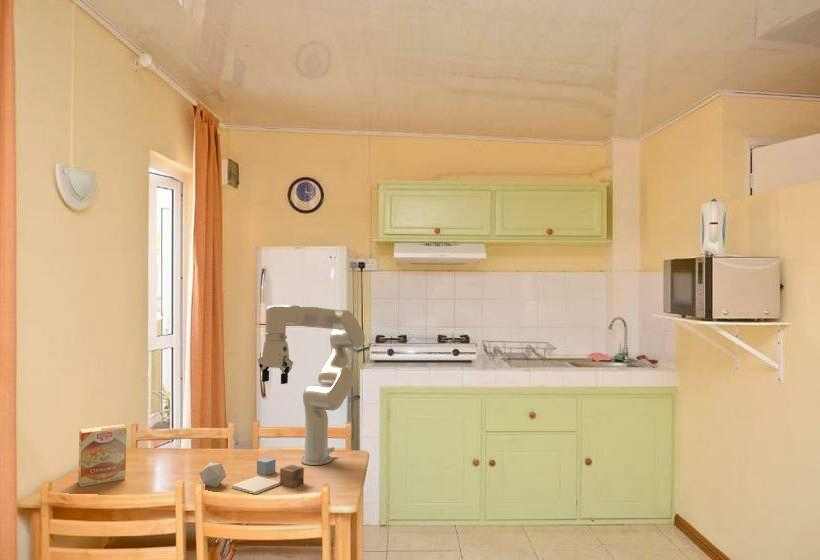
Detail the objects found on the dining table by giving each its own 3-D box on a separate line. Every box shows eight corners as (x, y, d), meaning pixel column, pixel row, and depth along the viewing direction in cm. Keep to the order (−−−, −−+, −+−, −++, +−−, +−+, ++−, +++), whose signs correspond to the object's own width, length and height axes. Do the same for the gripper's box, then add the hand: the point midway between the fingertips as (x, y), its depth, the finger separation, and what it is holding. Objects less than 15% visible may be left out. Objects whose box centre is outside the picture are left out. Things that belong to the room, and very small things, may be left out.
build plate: (257, 478, 212) (257, 476, 212) (280, 484, 205) (280, 482, 205) (231, 487, 202) (231, 485, 202) (254, 494, 195) (254, 491, 195)
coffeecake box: (79, 487, 201) (81, 432, 202) (77, 481, 207) (78, 428, 208) (126, 479, 210) (127, 427, 211) (122, 474, 216) (123, 423, 216)
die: (230, 484, 207) (223, 460, 212) (224, 479, 200) (217, 454, 204) (208, 494, 205) (201, 469, 210) (201, 489, 198) (195, 464, 202)
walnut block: (291, 480, 210) (292, 464, 211) (303, 483, 207) (303, 467, 207) (280, 485, 205) (280, 468, 206) (291, 488, 202) (292, 471, 202)
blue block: (266, 469, 223) (266, 457, 223) (275, 472, 220) (275, 459, 220) (256, 473, 219) (256, 460, 219) (265, 475, 216) (265, 462, 216)
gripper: (299, 338, 214) (298, 383, 214) (266, 336, 223) (265, 379, 222) (285, 339, 208) (284, 385, 207) (252, 337, 216) (251, 381, 216)
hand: (274, 382), depth 215 cm, fingers open, 9 cm apart
